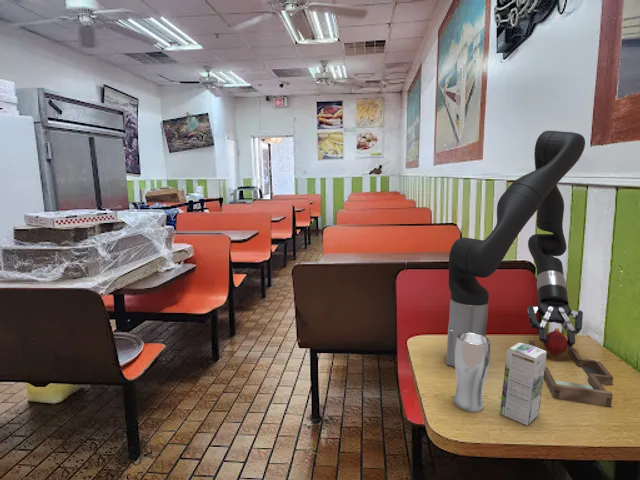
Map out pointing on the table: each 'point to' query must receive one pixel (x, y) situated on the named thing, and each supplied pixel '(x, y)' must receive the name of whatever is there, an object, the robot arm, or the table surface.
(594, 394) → the zigzag wooden tray
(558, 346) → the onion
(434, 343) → the table surface
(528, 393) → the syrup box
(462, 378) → the beer glass
